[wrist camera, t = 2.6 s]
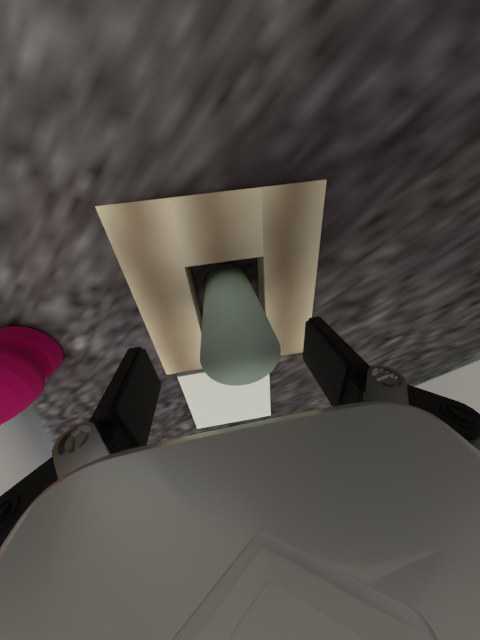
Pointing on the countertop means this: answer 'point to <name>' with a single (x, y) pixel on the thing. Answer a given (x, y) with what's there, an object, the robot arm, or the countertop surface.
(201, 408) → the mat
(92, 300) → the countertop surface
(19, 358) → the pepper mill
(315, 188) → the wooden square frame
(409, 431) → the robot arm
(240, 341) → the peg
